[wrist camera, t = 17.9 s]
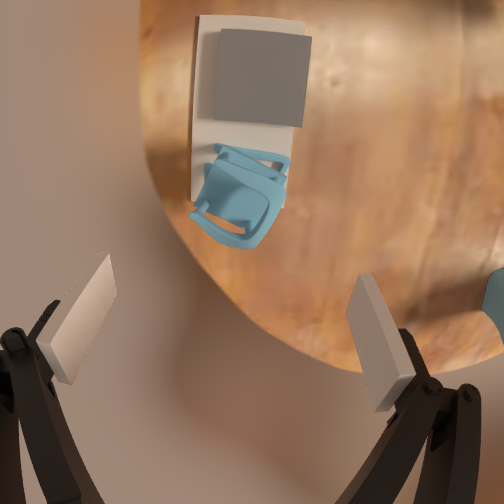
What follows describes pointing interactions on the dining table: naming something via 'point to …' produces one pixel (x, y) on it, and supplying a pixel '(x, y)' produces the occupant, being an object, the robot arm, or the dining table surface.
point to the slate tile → (262, 77)
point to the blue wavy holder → (495, 300)
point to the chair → (241, 194)
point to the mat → (204, 124)
